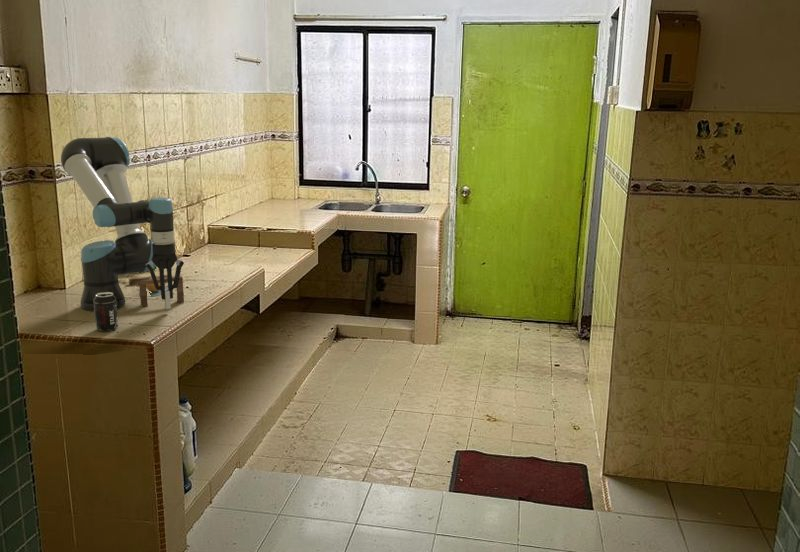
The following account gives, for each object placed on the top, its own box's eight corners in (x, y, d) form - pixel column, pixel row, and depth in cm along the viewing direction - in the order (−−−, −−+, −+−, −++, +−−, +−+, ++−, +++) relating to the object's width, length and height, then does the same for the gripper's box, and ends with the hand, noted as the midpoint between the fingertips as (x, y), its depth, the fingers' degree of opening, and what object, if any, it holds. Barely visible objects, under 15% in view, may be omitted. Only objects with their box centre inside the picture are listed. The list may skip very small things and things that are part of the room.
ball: (145, 293, 278) (147, 291, 273) (144, 278, 278) (146, 276, 273) (161, 292, 281) (163, 290, 275) (159, 277, 281) (162, 275, 276)
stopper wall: (129, 285, 287) (129, 279, 286) (129, 284, 288) (128, 278, 288) (170, 281, 294) (170, 275, 293) (169, 280, 295) (169, 274, 295)
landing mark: (141, 297, 269) (141, 297, 269) (137, 290, 280) (137, 289, 280) (173, 294, 275) (173, 293, 274) (169, 287, 285) (168, 286, 285)
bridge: (184, 302, 263) (182, 277, 261) (141, 307, 257) (139, 281, 255) (182, 300, 266) (181, 275, 264) (140, 304, 260) (138, 279, 257)
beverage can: (92, 332, 228) (89, 296, 225) (101, 326, 235) (98, 291, 232) (113, 332, 228) (110, 297, 225) (121, 326, 235) (118, 291, 232)
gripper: (145, 246, 238) (150, 312, 244) (184, 243, 244) (188, 308, 249) (142, 242, 245) (147, 307, 250) (180, 239, 250) (184, 303, 256)
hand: (167, 307), depth 250 cm, fingers closed
